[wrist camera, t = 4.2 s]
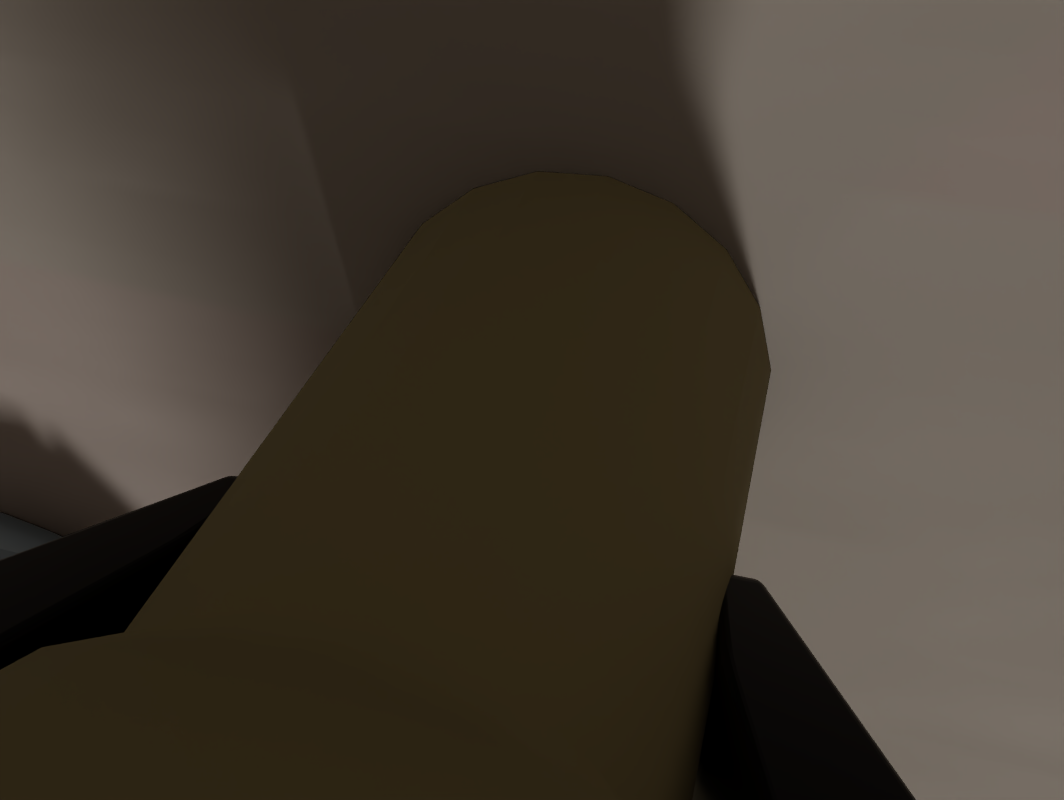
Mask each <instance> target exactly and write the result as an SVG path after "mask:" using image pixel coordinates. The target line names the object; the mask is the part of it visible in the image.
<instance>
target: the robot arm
mask: <svg viewBox="0 0 1064 800" xmlns="http://www.w3.org/2000/svg"><path fill="white" fill-rule="evenodd" d="M237 477H238V476H228V477H225V478H222V479H219V480H217V481H214V482H211V483H208V484H206V485H203V486H200V487H197V488H195V489H192V490H189V491H187V492H184V493H181V494H178V495H176V496H173V497H170V498H167V499H165V500H162V501H159V502H157V503H154V504H151V505H148V506H146V507H143V508H140V509H137V510H135V511H132V512H129V513H127V514H124V515H121V516H118V517H116V518H113V519H110V520H107V521H105V522H102V523H99V524H97V525H94V526H91V527H88V528H86V529H83V530H80V531H77V532H75V533H72V534H69V535H67V536H64V537H61V538H58V539H56V540H53V541H50V542H47V543H45V544H42V545H39V546H37V547H34V548H31V549H28V550H26V551H23V552H20V553H17V554H15V555H12V556H9V557H7V558H4V559H1V560H0V670H1V669H3V668H4V667H6V666H8V665H10V664H12V663H14V662H16V661H17V660H19V659H21V658H23V657H25V656H27V655H28V654H30V653H32V652H34V651H36V650H38V649H40V648H41V647H46V646H52V645H57V644H63V643H68V642H74V641H79V640H85V639H91V638H96V637H102V636H107V635H113V634H119V633H124V632H125V630H126V629H127V628H128V626H129V625H130V623H131V622H132V621H133V619H134V618H135V617H136V615H137V614H138V612H139V611H140V610H141V608H142V607H143V606H144V604H145V603H146V602H147V600H148V599H149V597H150V596H151V595H152V593H153V592H154V591H155V589H156V588H157V586H158V585H159V584H160V582H161V581H162V580H163V578H164V577H165V576H166V574H167V573H168V571H169V570H170V569H171V567H172V566H173V565H174V563H175V562H176V560H177V559H178V558H179V556H180V555H181V554H182V552H183V551H184V549H185V548H186V547H187V545H188V544H189V543H190V541H191V540H192V539H193V537H194V536H195V534H196V533H197V532H198V530H199V529H200V528H201V526H202V525H203V523H204V522H205V521H206V519H207V518H208V517H209V515H210V514H211V513H212V511H213V510H214V508H215V507H216V506H217V504H218V503H219V502H220V500H221V499H222V497H223V496H224V495H225V493H226V492H227V491H228V489H229V488H230V487H231V485H232V484H233V482H234V481H235V480H236V478H237ZM692 800H916V799H915V798H914V796H913V795H912V794H911V792H910V791H909V789H908V788H907V786H906V785H905V784H904V782H903V781H902V779H901V778H900V777H899V775H898V774H897V772H896V771H895V770H894V768H893V767H892V765H891V764H890V763H889V761H888V760H887V758H886V757H885V755H884V754H883V753H882V751H881V750H880V748H879V747H878V746H877V744H876V743H875V741H874V740H873V739H872V737H871V736H870V734H869V733H868V731H867V730H866V729H865V727H864V726H863V724H862V723H861V722H860V720H859V719H858V717H857V716H856V715H855V713H854V712H853V710H852V709H851V707H850V706H849V705H848V703H847V702H846V700H845V699H844V698H843V696H842V695H841V693H840V692H839V691H838V689H837V688H836V686H835V685H834V684H833V682H832V681H831V679H830V678H829V676H828V675H827V674H826V672H825V671H824V669H823V668H822V667H821V665H820V664H819V662H818V661H817V660H816V658H815V657H814V655H813V654H812V652H811V651H810V650H809V648H808V647H807V645H806V644H805V643H804V641H803V640H802V638H801V637H800V636H799V634H798V633H797V631H796V630H795V628H794V627H793V626H792V624H791V623H790V621H789V620H788V619H787V617H786V616H785V614H784V613H783V612H782V610H781V609H780V607H779V606H778V605H777V603H776V602H775V600H774V599H773V597H772V596H771V595H770V593H769V592H768V590H767V589H766V588H765V586H764V585H763V584H762V583H761V582H760V581H758V580H756V579H752V578H747V577H742V576H737V575H732V576H731V578H730V580H729V583H728V586H727V589H726V592H725V595H724V598H723V602H722V606H721V611H720V616H719V623H718V635H717V650H716V664H715V678H714V683H713V689H712V694H711V700H710V705H709V711H708V716H707V721H706V727H705V732H704V738H703V743H702V749H701V754H700V760H699V765H698V771H697V776H696V781H695V787H694V792H693V798H692Z"/></svg>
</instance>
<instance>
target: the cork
mask: <svg viewBox="0 0 1064 800" xmlns="http://www.w3.org/2000/svg"><path fill="white" fill-rule="evenodd" d="M770 372H771V368H770V362H769V356H768V351H767V345H766V339H765V334H764V328H763V322H762V317H761V311H760V307H759V305H758V304H757V302H756V300H755V298H754V297H753V295H752V293H751V291H750V290H749V288H748V286H747V285H746V283H745V281H744V279H743V278H742V276H741V274H740V272H739V271H738V269H737V267H736V265H735V264H734V262H733V260H732V258H731V257H730V255H729V253H728V251H727V250H726V249H725V248H724V247H723V246H722V245H720V244H719V243H718V242H717V241H716V240H715V239H714V238H712V237H711V236H710V235H709V234H708V233H707V232H706V231H704V230H703V229H702V228H701V227H700V226H699V225H697V224H696V223H695V222H694V221H693V220H692V219H691V218H689V217H688V216H687V215H686V214H685V213H684V212H683V211H681V210H680V209H679V208H678V207H677V206H676V205H675V204H673V203H671V202H668V201H666V200H664V199H661V198H659V197H656V196H654V195H652V194H649V193H647V192H644V191H642V190H639V189H637V188H635V187H632V186H630V185H627V184H625V183H623V182H620V181H618V180H615V179H613V178H611V177H608V176H596V175H582V174H568V173H554V172H540V171H537V172H534V173H530V174H526V175H522V176H519V177H515V178H511V179H507V180H504V181H500V182H496V183H492V184H489V185H485V186H481V187H477V188H474V189H472V190H471V191H469V192H468V193H466V194H465V195H464V196H462V197H461V198H459V199H458V200H456V201H455V202H453V203H452V204H450V205H449V206H448V207H446V208H445V209H443V210H442V211H440V212H439V213H437V214H436V215H435V216H433V217H432V218H430V219H429V220H427V221H426V222H424V223H423V224H422V225H421V226H420V228H419V229H418V231H417V232H416V233H415V235H414V236H413V237H412V239H411V240H410V241H409V243H408V244H407V246H406V247H405V248H404V250H403V251H402V252H401V254H400V255H399V257H398V258H397V259H396V261H395V262H394V263H393V265H392V266H391V268H390V269H389V270H388V272H387V273H386V274H385V276H384V277H383V278H382V280H381V281H380V283H379V284H378V285H377V287H376V288H375V289H374V291H373V292H372V294H371V295H370V296H369V298H368V299H367V300H366V302H365V303H364V304H363V306H362V307H361V309H360V310H359V311H358V313H357V314H356V315H355V317H354V318H353V320H352V321H351V322H350V324H349V325H348V326H347V328H346V329H345V330H344V332H343V333H342V335H341V336H340V337H339V339H338V340H337V341H336V343H335V344H334V346H333V347H332V348H331V350H330V351H329V352H328V354H327V355H326V356H325V358H324V359H323V361H322V362H321V363H320V365H319V366H318V367H317V369H316V370H315V372H314V373H313V374H312V376H311V377H310V378H309V380H308V381H307V382H306V384H305V385H304V387H303V388H302V389H301V391H300V392H299V393H298V395H297V396H296V398H295V399H294V400H293V402H292V403H291V404H290V406H289V407H288V408H287V410H286V411H285V413H284V414H283V415H282V417H281V418H280V419H279V421H278V422H277V424H276V425H275V426H274V428H273V429H272V430H271V432H270V433H269V435H268V436H267V437H266V439H265V440H264V441H263V443H262V444H261V445H260V447H259V448H258V450H257V451H256V452H255V454H254V455H253V456H252V458H251V459H250V461H249V462H248V463H247V465H246V466H245V467H244V469H243V470H242V471H241V473H240V474H239V476H238V477H237V478H236V480H235V481H234V482H233V484H232V485H231V487H230V488H229V489H228V491H227V492H226V493H225V495H224V496H223V497H222V499H221V500H220V502H219V503H218V504H217V506H216V507H215V508H214V510H213V511H212V513H211V514H210V515H209V517H208V518H207V519H206V521H205V522H204V523H203V525H202V526H201V528H200V529H199V530H198V532H197V533H196V534H195V536H194V537H193V539H192V540H191V541H190V543H189V544H188V545H187V547H186V548H185V549H184V551H183V552H182V554H181V555H180V556H179V558H178V559H177V560H176V562H175V563H174V565H173V566H172V567H171V569H170V570H169V571H168V573H167V574H166V576H165V577H164V578H163V580H162V581H161V582H160V584H159V585H158V586H157V588H156V589H155V591H154V592H153V593H152V595H151V596H150V597H149V599H148V600H147V602H146V603H145V604H144V606H143V607H142V608H141V610H140V611H139V612H138V614H137V615H136V617H135V618H134V619H133V621H132V622H131V623H130V625H129V626H128V628H127V629H126V630H125V632H124V633H119V634H113V635H107V636H102V637H96V638H91V639H85V640H79V641H74V642H68V643H63V644H57V645H52V646H46V647H41V648H40V649H38V650H36V651H34V652H32V653H30V654H28V655H27V656H25V657H23V658H21V659H19V660H17V661H16V662H14V663H12V664H10V665H8V666H6V667H4V668H3V669H1V670H0V800H692V798H693V792H694V787H695V781H696V776H697V771H698V765H699V760H700V754H701V749H702V743H703V738H704V732H705V727H706V721H707V716H708V711H709V705H710V700H711V694H712V689H713V683H714V678H715V664H716V650H717V635H718V623H719V616H720V611H721V606H722V602H723V598H724V595H725V592H726V589H727V586H728V583H729V580H730V578H731V576H732V575H733V574H734V569H735V563H736V558H737V552H738V547H739V542H740V536H741V531H742V525H743V520H744V514H745V509H746V503H747V498H748V492H749V487H750V482H751V476H752V471H753V465H754V460H755V454H756V449H757V443H758V438H759V432H760V427H761V422H762V416H763V411H764V405H765V400H766V394H767V389H768V383H769V378H770Z"/></svg>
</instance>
